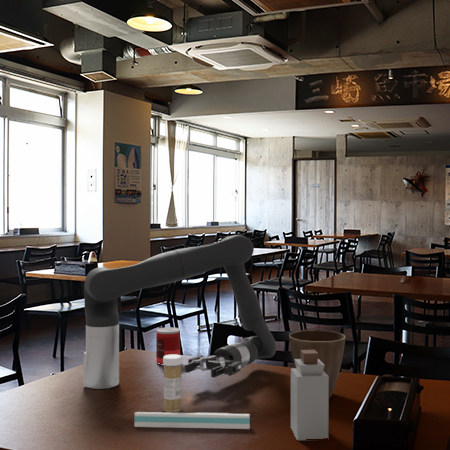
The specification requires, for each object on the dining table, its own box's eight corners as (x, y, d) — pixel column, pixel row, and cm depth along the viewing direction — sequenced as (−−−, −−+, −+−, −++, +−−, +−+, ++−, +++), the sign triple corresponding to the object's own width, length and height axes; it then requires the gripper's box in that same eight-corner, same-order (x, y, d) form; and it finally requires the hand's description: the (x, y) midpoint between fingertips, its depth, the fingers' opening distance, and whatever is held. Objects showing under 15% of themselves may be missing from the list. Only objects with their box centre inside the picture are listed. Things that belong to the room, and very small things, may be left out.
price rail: (134, 426, 121) (134, 413, 121) (142, 412, 131) (143, 399, 131) (249, 429, 120) (249, 415, 120) (249, 413, 130) (249, 401, 130)
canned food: (183, 360, 180) (183, 328, 180) (173, 366, 173) (173, 332, 173) (162, 359, 183) (163, 326, 183) (152, 364, 175) (152, 331, 175)
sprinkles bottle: (174, 406, 135) (175, 352, 135) (185, 410, 132) (185, 356, 132) (159, 410, 133) (159, 355, 133) (169, 415, 129) (169, 359, 129)
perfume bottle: (290, 428, 121) (290, 348, 121) (320, 427, 121) (320, 347, 121) (297, 440, 114) (297, 355, 114) (328, 439, 115) (328, 355, 115)
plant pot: (300, 406, 136) (300, 342, 136) (281, 388, 150) (281, 331, 150) (355, 402, 139) (355, 340, 139) (331, 385, 153) (332, 329, 153)
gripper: (211, 342, 159) (177, 353, 145) (253, 348, 151) (221, 360, 138) (211, 367, 159) (177, 381, 145) (253, 374, 151) (221, 389, 138)
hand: (198, 371), depth 142 cm, fingers open, 8 cm apart
